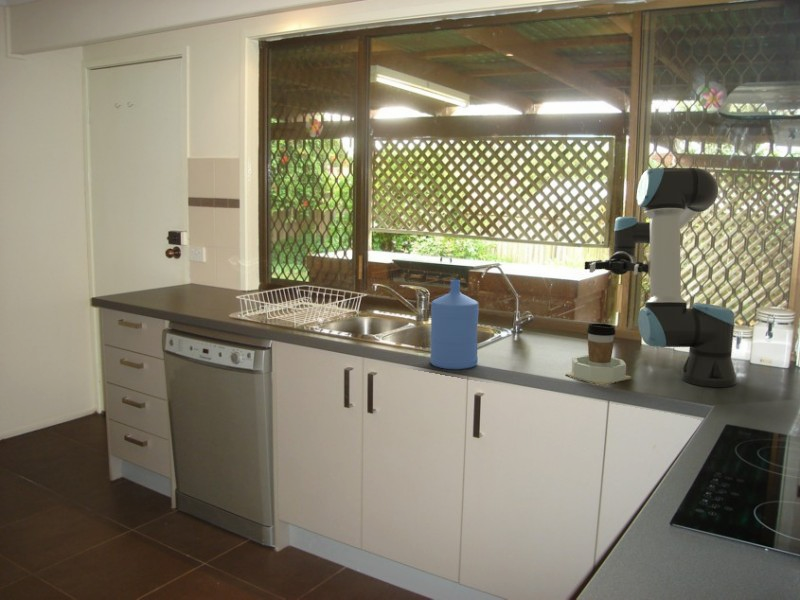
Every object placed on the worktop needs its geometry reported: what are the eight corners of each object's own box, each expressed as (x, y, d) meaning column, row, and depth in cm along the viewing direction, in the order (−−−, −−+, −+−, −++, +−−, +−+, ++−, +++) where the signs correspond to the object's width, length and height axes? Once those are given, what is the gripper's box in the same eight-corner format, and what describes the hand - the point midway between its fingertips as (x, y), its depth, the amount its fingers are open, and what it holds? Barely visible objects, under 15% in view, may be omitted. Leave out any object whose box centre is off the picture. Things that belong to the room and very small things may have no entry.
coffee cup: (579, 370, 212) (581, 323, 209) (599, 367, 216) (602, 320, 213) (598, 377, 204) (601, 328, 202) (619, 373, 208) (622, 325, 206)
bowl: (634, 378, 209) (635, 362, 208) (602, 386, 200) (603, 370, 199) (593, 368, 221) (594, 353, 220) (562, 375, 212) (562, 359, 211)
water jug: (461, 372, 215) (463, 284, 210) (420, 364, 224) (421, 280, 220) (486, 363, 227) (488, 279, 222) (447, 355, 236) (448, 276, 232)
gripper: (657, 275, 233) (653, 283, 214) (583, 271, 243) (573, 278, 224) (659, 253, 231) (655, 259, 212) (584, 250, 241) (574, 256, 222)
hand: (613, 269), depth 218 cm, fingers open, 13 cm apart
